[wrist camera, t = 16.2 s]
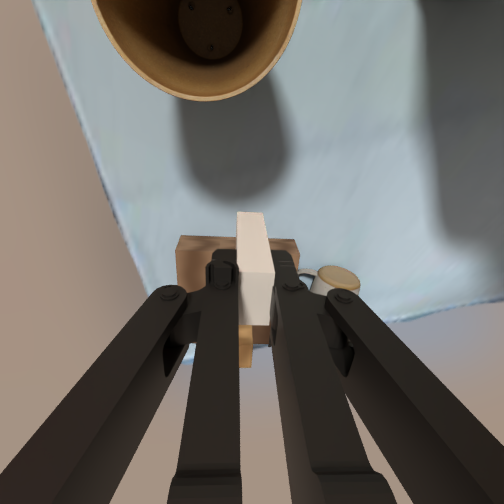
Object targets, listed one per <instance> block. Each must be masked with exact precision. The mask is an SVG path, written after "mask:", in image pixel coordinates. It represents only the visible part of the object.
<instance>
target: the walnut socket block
mask: <svg viewBox="0 0 504 504" xmlns="http://www.w3.org/2000/svg"><path fill="white" fill-rule="evenodd" d="M268 241H269V246H270V250H286V251H287V252H288V253H290V254H291V255H292V258H293V262H294V264H295V267H296V270H298V264H299V258H300V253H299V250H298V248H297V245H296V243H295V240H294V239H269V238H268ZM216 249H236V237H214V236H186V235H181V237H180V239H179V242H178V245H177V247H176V250H175V254H176V269H177V283H178V286H181V287H183V288H184V289H185V290H186V292H187V293H189V292H194V291H197V290H200V289H202V288H203V287H205V285H206V276H205V267H206V265H207V264H208V263H209V262H211V258H212V253H213V252H214V251H215V250H216ZM270 329H271V321H269V325H252V337H253V344H269V337H270ZM194 343H197V342H194Z"/></svg>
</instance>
